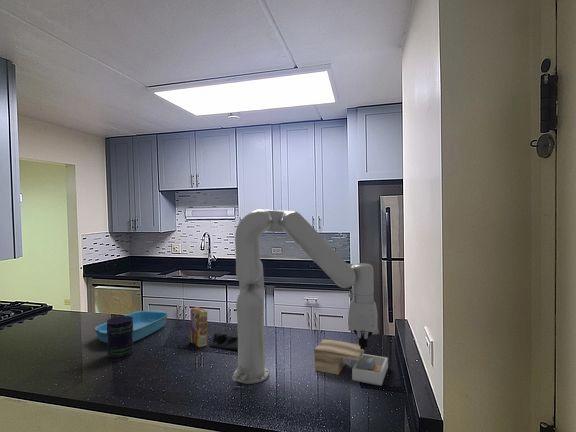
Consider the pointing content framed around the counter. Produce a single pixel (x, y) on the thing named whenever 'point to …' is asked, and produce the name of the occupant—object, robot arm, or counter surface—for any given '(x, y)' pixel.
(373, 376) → the tray
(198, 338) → the candy box
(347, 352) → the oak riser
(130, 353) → the storage jar
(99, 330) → the casserole dish
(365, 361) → the slate tile
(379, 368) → the terracotta tile
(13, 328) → the counter surface
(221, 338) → the black flat block
